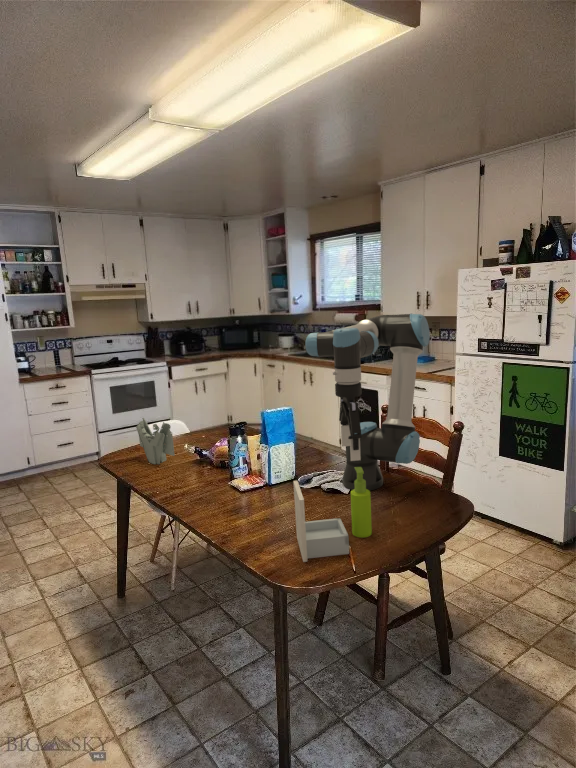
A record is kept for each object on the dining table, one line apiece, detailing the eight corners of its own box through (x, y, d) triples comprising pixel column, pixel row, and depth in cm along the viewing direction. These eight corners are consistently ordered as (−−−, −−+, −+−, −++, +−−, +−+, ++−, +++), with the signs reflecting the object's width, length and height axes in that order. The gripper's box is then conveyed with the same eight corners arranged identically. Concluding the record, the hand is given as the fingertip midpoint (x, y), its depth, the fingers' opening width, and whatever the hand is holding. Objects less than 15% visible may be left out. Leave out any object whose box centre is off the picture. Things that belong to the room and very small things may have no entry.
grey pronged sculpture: (134, 458, 232) (129, 417, 228) (147, 454, 237) (142, 414, 233) (168, 469, 214) (163, 425, 210) (181, 464, 219) (177, 421, 215)
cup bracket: (339, 532, 148) (337, 476, 145) (350, 556, 135) (348, 495, 132) (296, 537, 147) (293, 480, 144) (303, 562, 134) (299, 500, 130)
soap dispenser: (368, 526, 152) (366, 464, 148) (373, 536, 145) (371, 472, 141) (350, 527, 151) (347, 466, 148) (353, 538, 145) (351, 474, 141)
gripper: (328, 376, 153) (331, 441, 157) (343, 391, 128) (346, 468, 132) (351, 374, 153) (354, 439, 157) (371, 389, 129) (373, 465, 133)
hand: (350, 452), depth 145 cm, fingers open, 13 cm apart
